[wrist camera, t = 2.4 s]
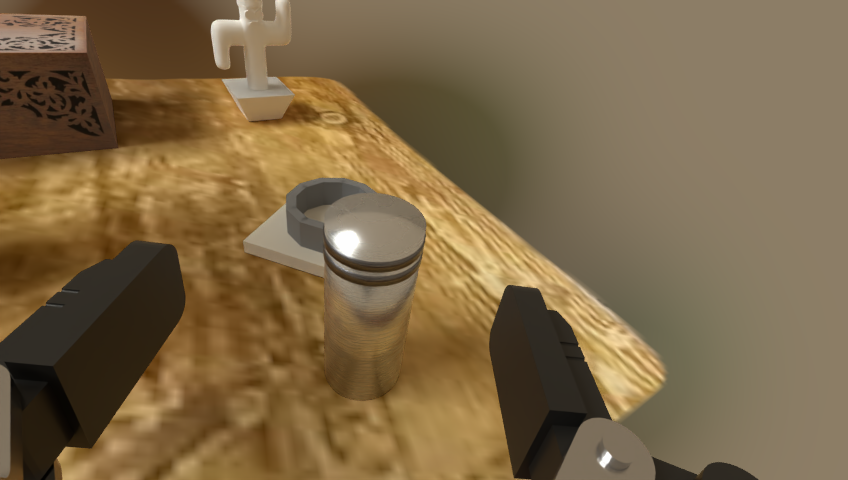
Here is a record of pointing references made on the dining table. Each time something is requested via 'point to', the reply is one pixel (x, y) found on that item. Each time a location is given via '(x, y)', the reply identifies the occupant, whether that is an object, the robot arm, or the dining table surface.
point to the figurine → (254, 58)
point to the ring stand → (301, 225)
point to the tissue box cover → (51, 88)
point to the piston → (368, 290)
